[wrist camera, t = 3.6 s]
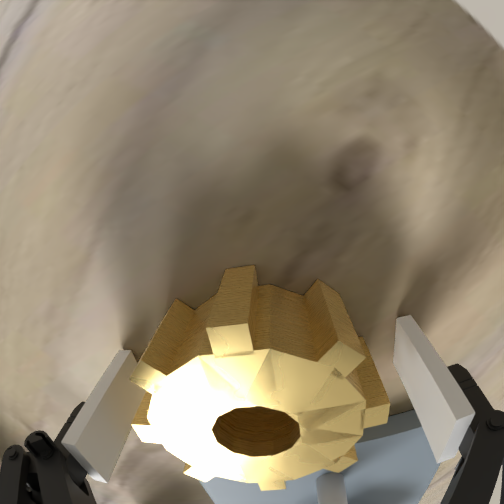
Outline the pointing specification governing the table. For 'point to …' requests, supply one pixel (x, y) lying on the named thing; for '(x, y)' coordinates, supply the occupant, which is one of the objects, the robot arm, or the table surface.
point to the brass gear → (259, 384)
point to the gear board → (353, 472)
